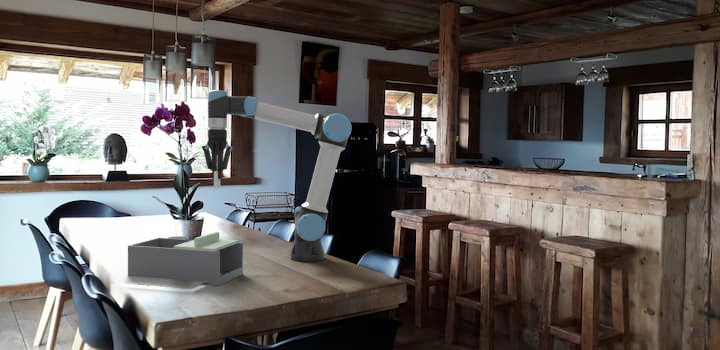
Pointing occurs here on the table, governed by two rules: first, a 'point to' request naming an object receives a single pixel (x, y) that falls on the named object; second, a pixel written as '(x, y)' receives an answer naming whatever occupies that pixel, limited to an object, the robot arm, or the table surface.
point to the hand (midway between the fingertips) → (217, 186)
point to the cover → (207, 243)
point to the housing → (184, 261)
